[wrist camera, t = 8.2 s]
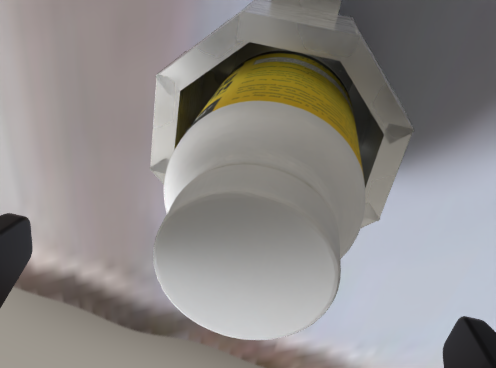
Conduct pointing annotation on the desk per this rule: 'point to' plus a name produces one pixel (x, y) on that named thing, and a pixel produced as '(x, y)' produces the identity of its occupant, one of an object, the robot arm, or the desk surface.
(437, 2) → the desk surface
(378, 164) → the cup bracket
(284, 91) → the supplement bottle
